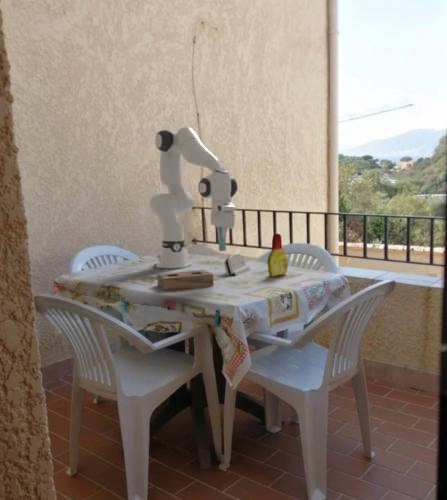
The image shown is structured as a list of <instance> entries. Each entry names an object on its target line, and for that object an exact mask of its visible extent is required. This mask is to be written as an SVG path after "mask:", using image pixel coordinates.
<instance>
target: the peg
mask: <svg viewBox="0 0 447 500" xmlns="http://www.w3.org/2000/svg"><path fill="white" fill-rule="evenodd" d="M221 234H222V228H221V227H219V236H218V251H219V252H226V251H227V247H226V245H227V244H226V240H227V239H226V238H227V237H226V238H222V235H221Z"/></svg>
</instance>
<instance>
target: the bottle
mask: <svg viewBox="0 0 447 500" xmlns="http://www.w3.org/2000/svg"><path fill="white" fill-rule="evenodd" d="M288 269H289V268H288V257H287V254H286V252H285V251H284V249H283V245H282V235H281V234H280V233H275V234H273V235H272V240H271V251H270V253H269V255H268V258H267V270H268V275H269V276H270V277H277V276H282V275H283V276H284V275H286V274H287V273H288Z"/></svg>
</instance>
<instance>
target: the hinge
mask: <svg viewBox="0 0 447 500" xmlns="http://www.w3.org/2000/svg"><path fill="white" fill-rule="evenodd" d="M223 265H224V269H225V273H226V276H230V275H233V274H234V276H235V277H237V276H239V275H242V274H244V273H246V272H249V271H250V270H251V269H250V266H249V265H247V263H246V260H245V259H244V256H243V255H242V254H239V253H237V254H232V255H229V256H227V258H225V260H224V261H223Z"/></svg>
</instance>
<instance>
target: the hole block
mask: <svg viewBox="0 0 447 500" xmlns="http://www.w3.org/2000/svg"><path fill="white" fill-rule="evenodd" d="M156 275H157V286H158V287H159V288H160V289H162V290H163V291H164V292H165V291H174V290H176V291H177V290H183V289H192V288H193V289H194V288H195V289H196V288H201V287H202V288H203V287H212V286H213V287H214V274H213V273H211V272H209V271H207V270H206V269H201V270H200V269H199V270H190V271H189V270H188V271H179V272H167V273H157V274H156Z"/></svg>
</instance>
